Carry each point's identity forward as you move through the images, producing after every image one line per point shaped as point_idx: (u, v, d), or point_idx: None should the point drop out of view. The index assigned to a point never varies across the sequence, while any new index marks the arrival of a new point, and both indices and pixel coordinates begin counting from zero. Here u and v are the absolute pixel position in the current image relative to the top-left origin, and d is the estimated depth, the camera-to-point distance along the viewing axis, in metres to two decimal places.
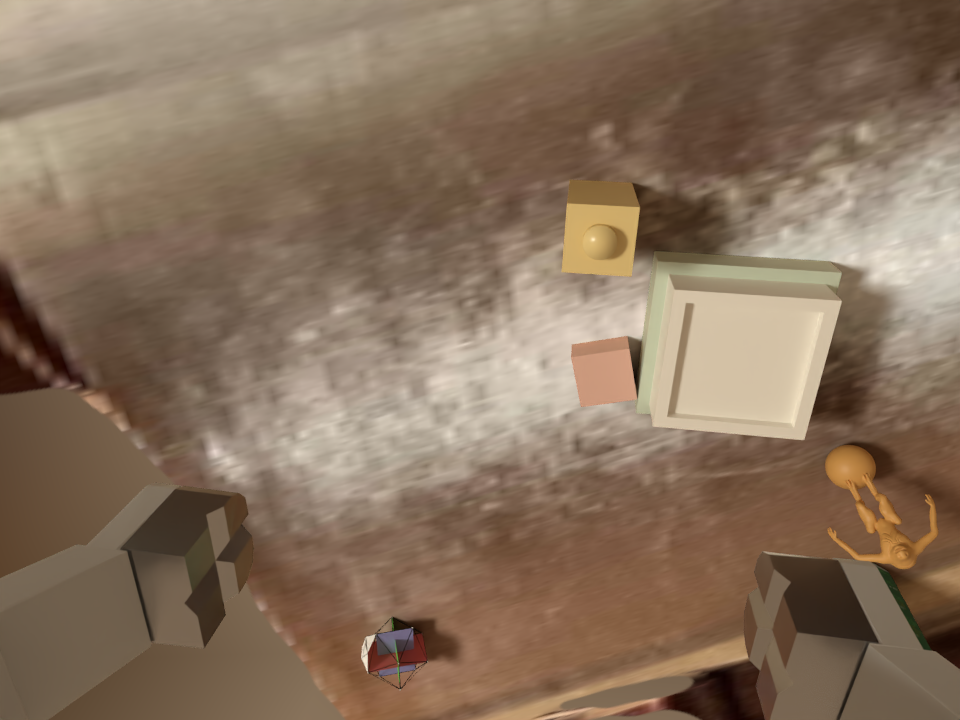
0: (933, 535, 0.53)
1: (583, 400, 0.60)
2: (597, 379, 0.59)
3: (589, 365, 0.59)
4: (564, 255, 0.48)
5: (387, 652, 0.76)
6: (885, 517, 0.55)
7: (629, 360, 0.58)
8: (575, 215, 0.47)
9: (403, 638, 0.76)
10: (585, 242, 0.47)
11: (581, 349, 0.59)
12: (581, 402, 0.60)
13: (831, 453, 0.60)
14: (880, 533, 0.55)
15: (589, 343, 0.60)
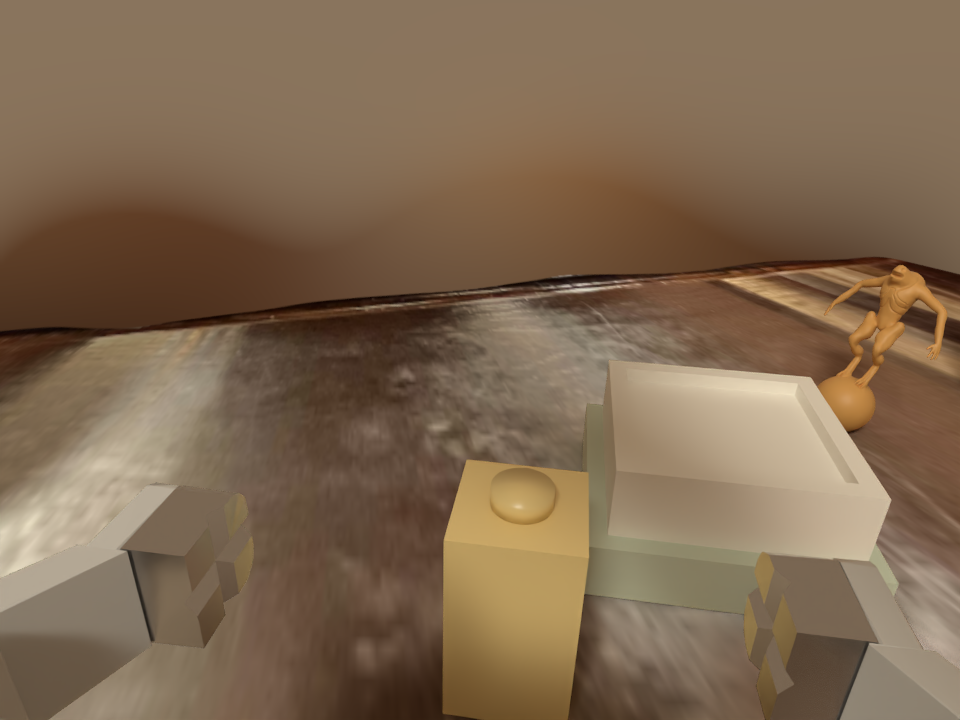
0: (863, 281, 0.47)
1: None
2: None
3: None
4: (552, 551, 0.23)
5: None
6: (874, 324, 0.46)
7: None
8: (468, 530, 0.24)
9: None
10: (521, 503, 0.24)
11: None
12: None
13: None
14: (895, 314, 0.45)
15: None
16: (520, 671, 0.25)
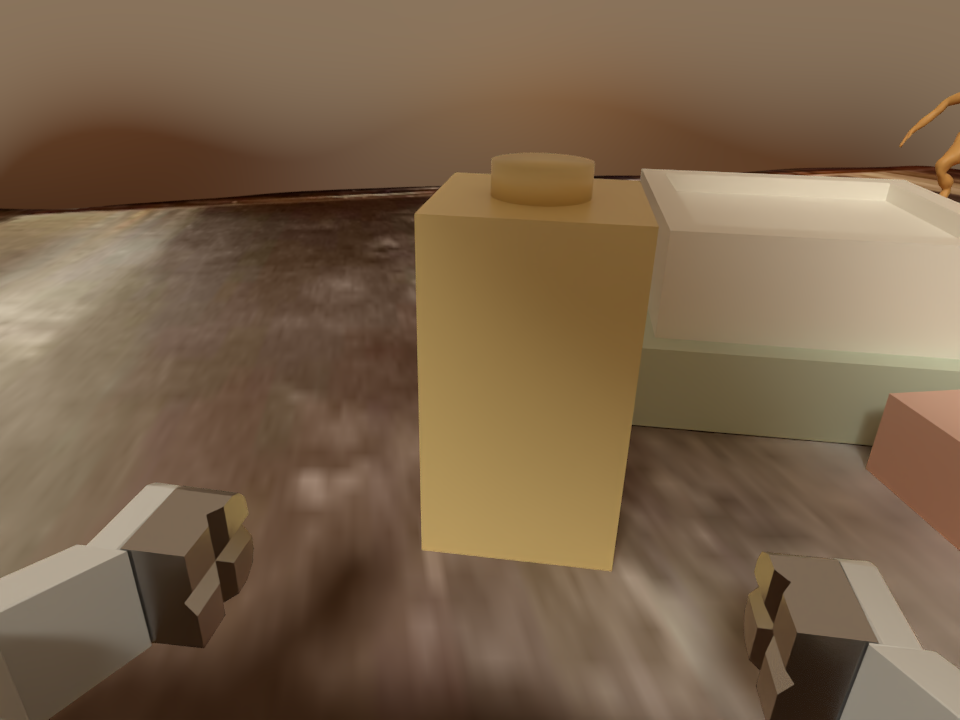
0: (951, 96, 0.38)
1: None
2: None
3: None
4: (595, 222, 0.14)
5: None
6: None
7: (925, 393, 0.21)
8: (455, 208, 0.14)
9: None
10: (540, 168, 0.15)
11: None
12: None
13: None
14: None
15: (949, 528, 0.19)
16: (541, 463, 0.16)
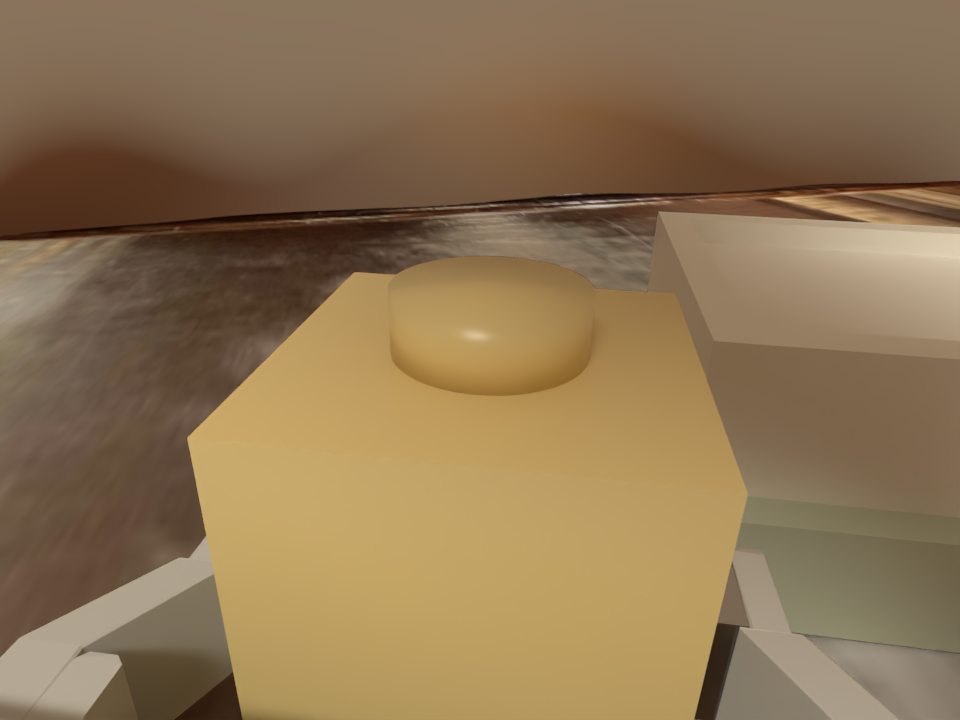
0: None
1: None
2: None
3: None
4: (596, 471, 0.06)
5: None
6: None
7: None
8: (293, 411, 0.07)
9: None
10: (480, 318, 0.07)
11: None
12: None
13: None
14: None
15: None
16: None
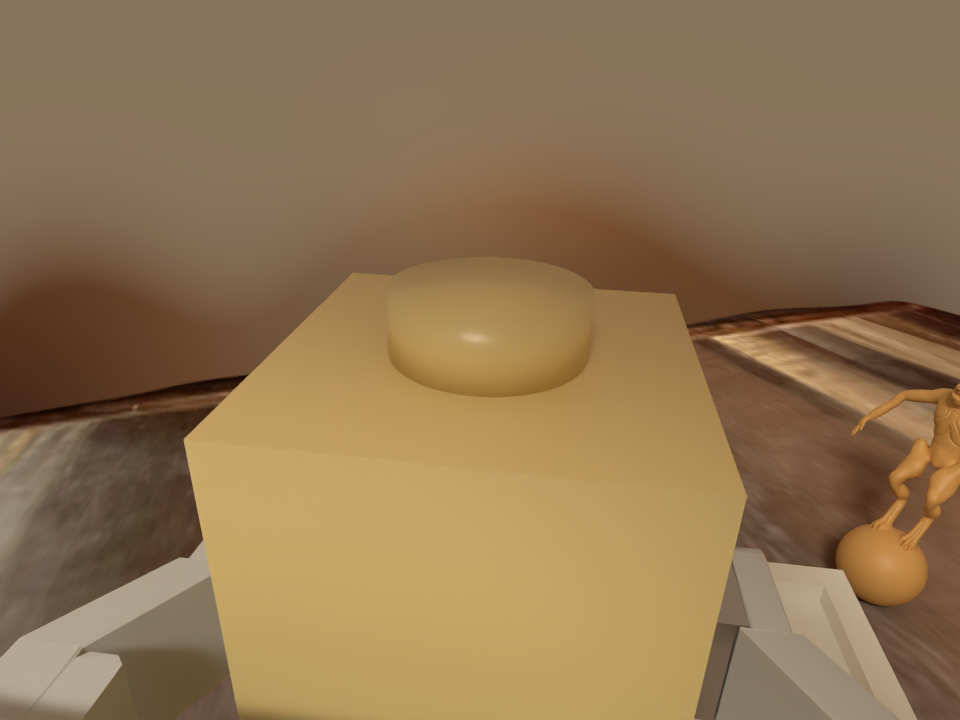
0: (908, 392, 0.34)
1: None
2: None
3: None
4: (594, 473, 0.06)
5: None
6: (926, 459, 0.32)
7: None
8: (291, 412, 0.07)
9: None
10: (478, 319, 0.07)
11: None
12: None
13: (870, 593, 0.33)
14: (958, 448, 0.31)
15: None
16: None
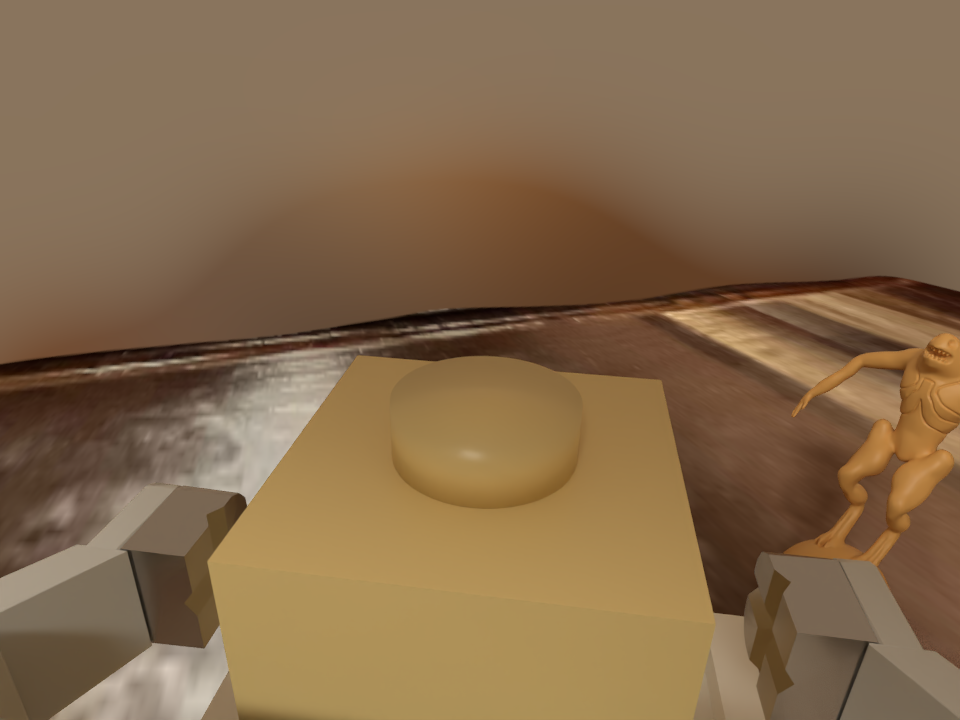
0: (867, 355, 0.24)
1: None
2: None
3: None
4: (579, 599, 0.06)
5: None
6: (889, 449, 0.23)
7: None
8: (303, 529, 0.07)
9: None
10: (475, 440, 0.07)
11: None
12: None
13: None
14: (934, 433, 0.21)
15: None
16: None
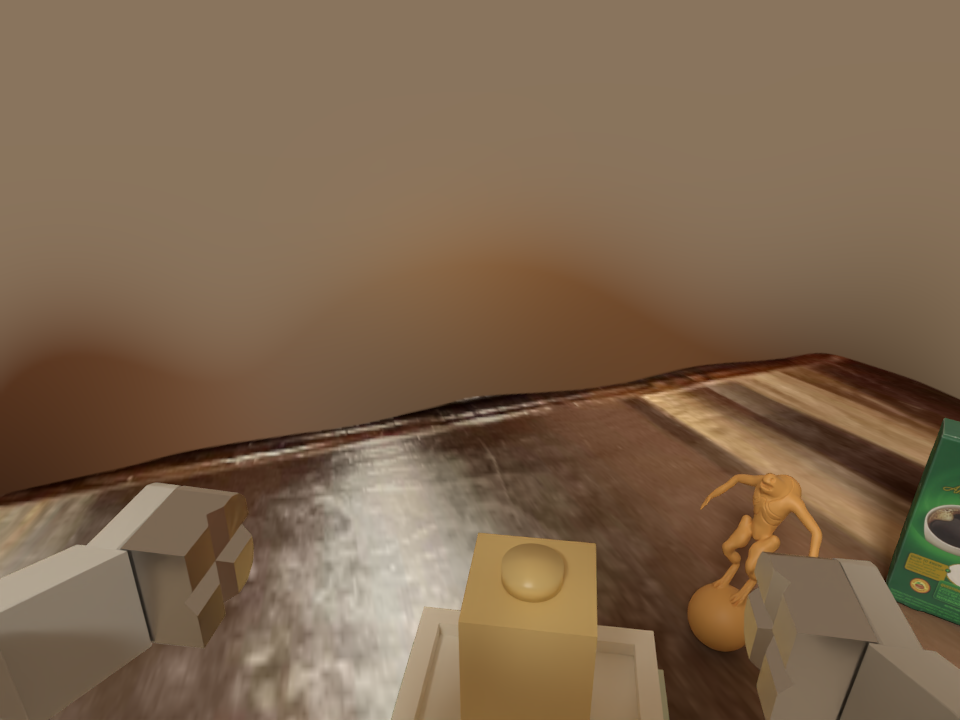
0: (739, 476, 0.41)
1: None
2: None
3: None
4: (561, 630, 0.24)
5: None
6: (748, 533, 0.40)
7: None
8: (481, 610, 0.25)
9: None
10: (530, 583, 0.25)
11: None
12: None
13: (708, 641, 0.40)
14: (769, 525, 0.39)
15: None
16: None
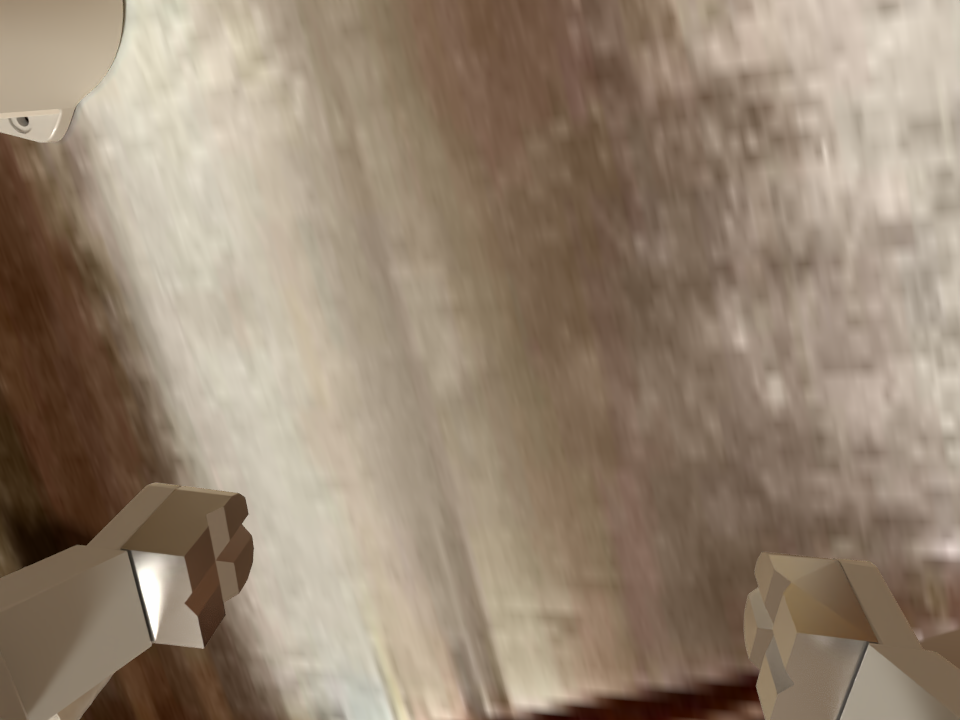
0: None
1: None
2: None
3: None
4: None
5: None
6: None
7: None
8: None
9: None
10: None
11: None
12: None
13: None
14: None
15: None
16: None
